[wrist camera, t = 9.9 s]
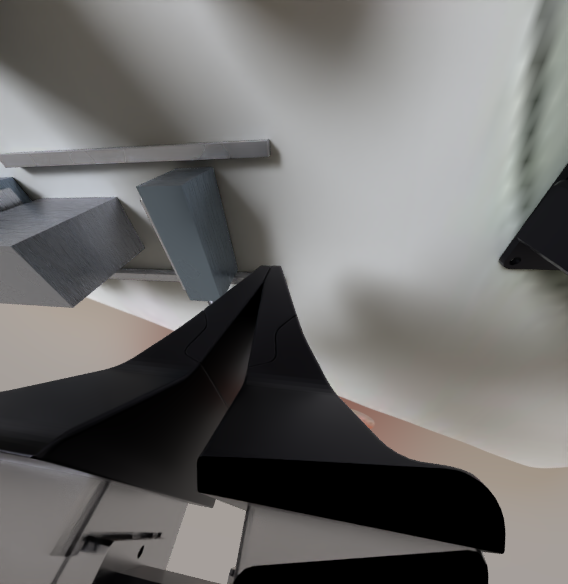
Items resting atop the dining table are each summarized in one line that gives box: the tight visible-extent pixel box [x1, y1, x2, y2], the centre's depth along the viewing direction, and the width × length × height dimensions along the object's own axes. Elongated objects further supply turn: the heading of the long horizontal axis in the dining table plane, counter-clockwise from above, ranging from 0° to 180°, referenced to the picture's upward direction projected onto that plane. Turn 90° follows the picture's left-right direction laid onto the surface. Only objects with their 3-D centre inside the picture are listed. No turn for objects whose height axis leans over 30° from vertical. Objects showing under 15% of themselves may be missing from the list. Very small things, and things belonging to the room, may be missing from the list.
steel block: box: [0, 197, 145, 308], centre depth 12 cm, size 4×6×6 cm, turn 92°
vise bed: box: [0, 139, 270, 284], centre depth 13 cm, size 18×8×4 cm, turn 92°
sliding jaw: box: [136, 167, 238, 305], centre depth 13 cm, size 2×10×3 cm, turn 2°
